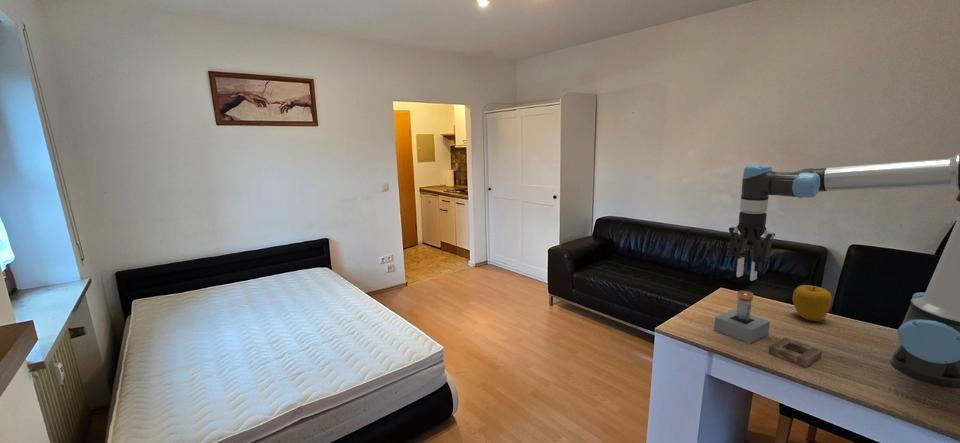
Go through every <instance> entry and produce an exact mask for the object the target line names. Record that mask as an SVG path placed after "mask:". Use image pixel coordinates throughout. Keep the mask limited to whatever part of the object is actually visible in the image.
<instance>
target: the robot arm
mask: <svg viewBox="0 0 960 443" xmlns="http://www.w3.org/2000/svg"><path fill="white" fill-rule="evenodd" d="M772 168H773V167H772V166H771V165H770V164H749V165H746V166H745V167H744V169H743V176H742V178H741V179H742V180H741V181H742V182H741V194H740V204H739V210H740V212H739V214H738V223H737V226H732V227H729V228H728V232H729V234H730V237H729V255H730V256H733V257H735V258H734V259H735V260H734V267H736V276H735V277H737V278H740V277H742V276H744V267H745V259H746V258H745V257H744V253H745V249H746V245H747V243H748V240H749V239H750V240H751V243H752V247H753V256H754V257H753V258H754V260H753V261H751V266H750V267H751V268H750V269H751V270H750V275H749V280H750V281H751V282H752V281H755V280H757V279H758V272H760V271H761V270H762V263H765V262H767V261H769V259H770V256H771V255H770V253H771V248H772V243H773V239H774V238H775V236H776V234H775V232H770V231H768V230H767V228H766V223H767V216H768V213H767V211H768V206H769V196H779V197H793V198H798V199H802V198H805V199H806V198H807V199H808V198H811V199H812V198H815V197H816V196H817V194H819V193H820V192H839V191H840V192H841V191H843V192H844V191H869V190H870V191H871V190H872V191H873V190H874V191H875V190H899V189H901V190H902V189H926V188H927V189H928V188H952V189H954V190H956V191H958V194H957V196H956V198H955V202H956V204H957V205H958V206H959V207H960V153H957V154H956V155H954V156H953V157H950V158H949V157H948V158H937V159H923V160H913V161H910V160H909V161H900V162H899V161H898V162H897V161H896V162H887V163H886V162H885V163H884V162H883V163H872V164H869V163H868V164H860V165H859V164H857V165H846V166H843V165H842V166H832V167H819V168H818V167H817V168H813V167H810V168H803V169H801V170H797V171H792V172H791V171H784V172H783V171H773V169H772ZM738 232H739V233H740V236H739V234H738ZM762 236H763V237H764V240H763V246H762V243H761V242H762ZM738 238H739V239H738ZM738 240H739V241H738ZM738 242H739V243H738ZM897 338H898V340H899V343H900V344H899V345H898V346H897V347H896V348H895V350H894V351H893V352H892V354H891V358H890V364H891V365H892V366H893V367H894V368H895V369H897V370H898V371H900V372H901V373H903V374H905V375H907V376H909V377H912V378H914V379H917V380H919V381H923V382H925V383H929V384H932V385H937V386H941V387H942V386H943V387H949V388H960V214H959V215H958V217H957V219H956V222H955V224H954V226H953V229H952V231H951V233H950V236H949V238H948V239H947V242H946V244H945V246H944V249H943V252H942V254H941V256H940V258H939V260H938V263H937V265H936V268H935V270H934V272H933V274H932V277H931V278H930V281H929V283H928V285H927V288H926V290H925V292H915V293H913V294H912V298H911V299H910V305H909V307H908V310H907V312H906V315H905V316H904V319H903V321H902V323H901V325H899V327H898V330H897Z"/></svg>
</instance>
